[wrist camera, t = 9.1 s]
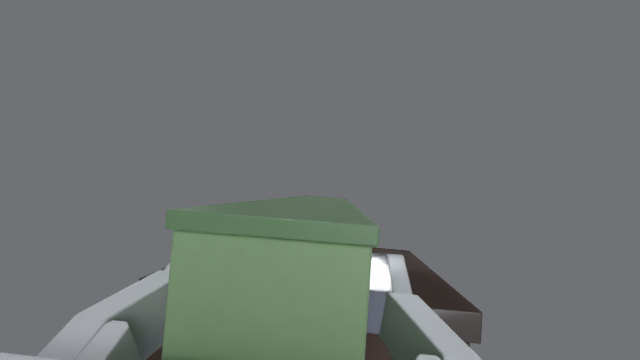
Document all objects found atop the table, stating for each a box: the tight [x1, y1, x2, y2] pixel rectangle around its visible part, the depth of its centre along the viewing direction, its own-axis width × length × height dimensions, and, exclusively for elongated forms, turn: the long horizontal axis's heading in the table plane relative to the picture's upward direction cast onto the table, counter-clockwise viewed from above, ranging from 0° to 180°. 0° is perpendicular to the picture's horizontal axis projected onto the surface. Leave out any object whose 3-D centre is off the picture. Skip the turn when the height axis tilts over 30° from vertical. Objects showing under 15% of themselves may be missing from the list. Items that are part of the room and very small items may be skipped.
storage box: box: [161, 196, 380, 360], centre depth 18 cm, size 4×24×4 cm, turn 176°
